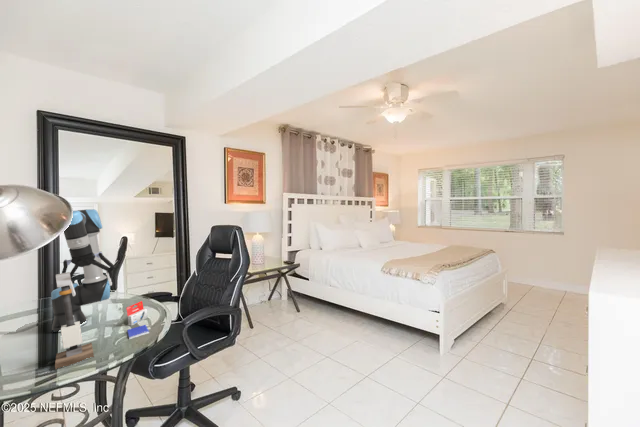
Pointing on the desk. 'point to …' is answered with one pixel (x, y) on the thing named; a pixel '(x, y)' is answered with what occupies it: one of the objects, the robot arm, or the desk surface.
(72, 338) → the sleeve
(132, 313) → the ink cartridge box
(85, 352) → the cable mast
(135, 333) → the hard drive
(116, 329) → the desk surface
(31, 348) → the desk surface
